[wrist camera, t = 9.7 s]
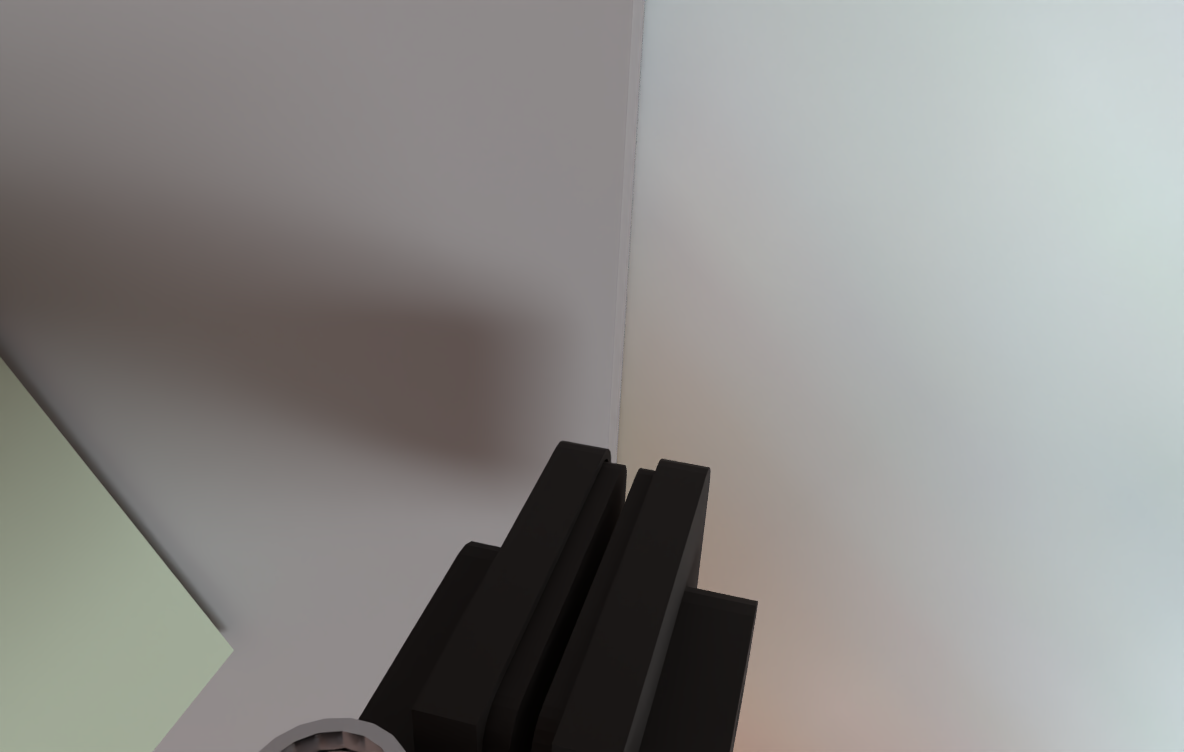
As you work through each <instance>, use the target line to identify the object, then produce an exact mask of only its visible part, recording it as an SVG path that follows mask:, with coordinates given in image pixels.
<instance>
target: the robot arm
mask: <svg viewBox="0 0 1184 752" xmlns="http://www.w3.org/2000/svg"><path fill="white" fill-rule="evenodd" d="M626 477H627V470H626V466H625V465H621V464H616V463H611V451H610V450H609V449H606V448H601V447H595V446H590V445H585V444H579V443H574V442H568V441H560V442H559V443H558V445H557V446H556V448H555V450H554V452H553V453H552V455H551V457H550V459H549V461H548V463H547V464H546V466H545V468H544V470H543V472H542V473H541V475H540V477H539V479H538V481H537V482H536V484H535V486H534V488H533V490H532V492H531V493H530V495H529V497H528V499H527V501H526V502H525V504H524V506H523V508H522V510H521V512H520V513H519V515H518V517H517V519H516V521H515V522H514V524H513V526H512V528H511V530H510V531H509V533H508V535H507V537H506V539H505V541H504V542H503V544H502V546H501V547H497V546H493V545H488V544H483V543H479V542H474V541H471V542H469V543H467V544H465V546H464V547H463V548H462V549H461V551H460V552H459V553H458V555H457V557H456V558H455V560H454V562H453V563H452V565H451V567H450V568H449V570H448V572H447V573H446V575H445V577H444V578H443V580H442V581H441V583H440V585H439V586H438V588H437V590H436V591H435V593H434V595H433V596H432V598H431V600H430V601H429V603H428V605H427V606H426V608H425V610H424V611H423V613H422V615H421V616H420V618H419V620H418V621H417V623H416V624H415V626H414V628H413V629H412V631H411V633H410V634H409V636H408V638H407V639H406V641H405V643H404V644H403V646H402V648H401V649H400V651H399V653H398V654H397V656H396V658H395V659H394V661H393V663H392V664H391V666H390V668H389V669H388V671H387V672H386V674H385V676H384V677H383V679H382V681H381V682H380V684H379V686H378V687H377V689H376V691H375V692H374V694H373V696H372V697H371V699H370V701H369V702H368V704H367V706H366V707H365V709H364V711H363V712H362V714H361V716H360V717H359V719H358V720H357V719H353V718H325V719H321V720H317V721H313V722H309V723H305V724H301V725H298V726H297V727H295V728H293V729H291V730H289V731H287V732H285V733H283V734H281V735H279V736H277V737H275V738H274V739H273V740H272V741H271V742H269V743H268V744H267V745H266V746H265V747H264V748H262V749H261V750H260V751H259V752H733V747H734V742H735V736H736V731H737V725H738V720H739V714H740V708H741V703H742V697H743V691H744V685H745V679H746V673H747V667H748V661H749V655H750V649H751V643H752V637H753V631H754V625H755V618H756V612H757V605H758V601H754V600H749V599H744V598H740V597H735V596H730V595H725V594H721V593H716V592H711V591H706V590H702V589H697V583H698V575H699V567H700V558H701V550H702V542H703V533H704V525H705V517H706V509H707V500H708V492H709V483H710V468H709V467H704V466H698V465H693V464H688V463H682V462H677V461H671V460H666V459H661V460H660V461H659V463H658V466H657V468H656V471H653V470H648V469H643V468H640V469H639V470H638V472H637V474H636V477H635V479H634V482H633V484H632V487H631V489H630V491H629V494H628V496H627V499H626V501H625V492H626Z"/></svg>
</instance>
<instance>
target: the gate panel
mask: <svg viewBox="0 0 1184 752" xmlns="http://www.w3.org/2000/svg"><path fill="white" fill-rule="evenodd" d="M233 651H234V650H233V648H232V647H231V646H230V645H229V643H228V642H227V641H226V640H225V638H224V637H223V636H222V635H221V633H220V632H219V631H218V630H217V628H216V627H215V626H214V625H213V623H212V622H211V621H210V619H209V618H208V617H207V616H206V614H205V613H204V612H203V611H202V609H201V608H200V607H199V606H198V604H197V603H196V602H195V601H194V599H193V598H192V597H191V596H190V594H189V593H188V592H187V591H186V589H185V588H184V587H183V586H182V584H181V583H180V582H179V581H178V579H177V578H176V577H175V576H174V574H173V573H172V572H171V571H170V569H169V568H168V567H167V566H166V564H165V563H164V562H163V560H162V559H161V558H160V557H159V555H158V554H157V553H156V552H155V550H154V549H153V548H152V547H151V545H150V544H149V543H148V542H147V540H146V539H145V538H144V537H143V535H142V534H141V533H140V532H139V530H138V529H137V528H136V527H135V525H134V524H133V523H132V522H131V520H130V519H129V518H128V517H127V515H126V514H125V513H124V512H123V510H122V509H121V508H120V507H119V505H118V504H117V503H116V501H115V500H114V499H113V498H112V496H111V495H110V494H109V493H108V491H107V490H106V489H105V488H104V486H103V485H102V484H101V483H100V481H99V480H98V479H97V478H96V476H95V475H94V474H93V473H92V471H91V470H90V469H89V468H88V466H87V465H86V464H85V463H84V461H83V460H82V459H81V458H80V456H79V455H78V454H77V453H76V451H75V450H74V449H73V448H72V446H71V445H70V444H69V443H68V441H67V440H66V439H65V437H64V436H63V435H62V434H61V432H60V431H59V430H58V429H57V427H56V426H55V425H54V424H53V422H52V421H51V420H50V419H49V417H48V416H47V415H46V414H45V412H44V411H43V410H42V409H41V407H40V406H39V405H38V404H37V402H36V401H35V400H34V399H33V397H32V396H31V395H30V394H29V392H28V391H27V390H26V389H25V387H24V386H23V385H22V384H21V382H20V381H19V380H18V378H17V377H16V376H15V375H14V373H13V372H12V371H11V370H10V368H9V367H8V366H7V365H6V363H5V362H4V361H3V360H2V358H1V357H0V752H153V750H154V749H155V748H156V747H157V745H158V744H159V743H160V742H161V741H162V739H163V738H164V737H165V736H166V734H167V733H168V732H169V731H170V729H171V728H172V727H173V726H174V724H175V723H176V722H177V721H178V719H179V718H180V717H181V716H182V714H183V713H184V712H185V711H186V709H187V708H188V707H189V706H190V704H191V703H192V702H193V701H194V699H195V698H196V697H197V696H198V694H199V693H200V692H201V691H202V689H203V688H204V687H205V686H206V684H207V683H208V682H209V681H210V679H211V678H212V677H213V676H214V674H215V673H216V672H217V671H218V669H219V668H220V667H221V666H222V665H223V663H224V662H225V661H226V660H227V658H228V657H229V656H230V655H231V653H232V652H233Z"/></svg>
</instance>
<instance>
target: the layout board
mask: <svg viewBox="0 0 1184 752" xmlns="http://www.w3.org/2000/svg"><path fill="white" fill-rule="evenodd" d="M644 9H645V0H0V357H1V358H2V360H3V361H4V362H5V363H6V365H7V366H8V367H9V368H10V370H11V371H12V372H13V373H14V375H15V376H16V377H17V378H18V380H19V381H20V382H21V384H22V385H23V386H24V387H25V389H26V390H27V391H28V392H29V394H30V395H31V396H32V397H33V399H34V400H35V401H36V402H37V404H38V405H39V406H40V407H41V409H42V410H43V411H44V412H45V414H46V415H47V416H48V417H49V419H50V420H51V421H52V422H53V424H54V425H55V426H56V427H57V429H58V430H59V431H60V432H61V434H62V435H63V436H64V437H65V439H66V440H67V441H68V443H69V444H70V445H71V446H72V448H73V449H74V450H75V451H76V453H77V454H78V455H79V456H80V458H81V459H82V460H83V461H84V463H85V464H86V465H87V466H88V468H89V469H90V470H91V471H92V473H93V474H94V475H95V476H96V478H97V479H98V480H99V481H100V483H101V484H102V485H103V486H104V488H105V489H106V490H107V491H108V493H109V494H110V495H111V496H112V498H113V499H114V500H115V501H116V503H117V504H118V505H119V507H120V508H121V509H122V510H123V512H124V513H125V514H126V515H127V517H128V518H129V519H130V520H131V522H132V523H133V524H134V525H135V527H136V528H137V529H138V530H139V532H140V533H141V534H142V535H143V537H144V538H145V539H146V540H147V542H148V543H149V544H150V545H151V547H152V548H153V549H154V550H155V552H156V553H157V554H158V555H159V557H160V558H161V559H162V560H163V562H164V563H165V564H166V566H167V567H168V568H169V569H170V571H171V572H172V573H173V574H174V576H175V577H176V578H177V579H178V581H179V582H180V583H181V584H182V586H183V587H184V588H185V589H186V591H187V592H188V593H189V594H190V596H191V597H192V598H193V599H194V601H195V602H196V603H197V604H198V606H199V607H200V608H201V609H202V611H203V612H204V613H205V614H206V616H207V617H208V618H209V619H210V621H211V622H212V623H213V625H214V626H215V627H216V628H217V630H218V631H219V632H220V633H221V635H222V636H223V637H224V638H225V640H226V641H227V642H228V643H229V645H230V646H231V647H232V648H233V650H234V651H233V652H232V653H231V655H230V656H229V657H228V658H227V660H226V661H225V662H224V663H223V665H222V666H221V667H220V668H219V669H218V671H217V672H216V673H215V674H214V676H213V677H212V678H211V679H210V681H209V682H208V683H207V684H206V686H205V687H204V688H203V689H202V691H201V692H200V693H199V694H198V696H197V697H196V698H195V699H194V701H193V702H192V703H191V704H190V706H189V707H188V708H187V709H186V711H185V712H184V713H183V714H182V716H181V717H180V718H179V719H178V721H177V722H176V723H175V724H174V726H173V727H172V728H171V729H170V731H169V732H168V733H167V734H166V736H165V737H164V738H163V739H162V741H161V742H160V743H159V744H158V745H157V747H156V748H155V749H154V750H153V752H259V751H260V750H261V749H262V748H264V747H265V746H266V745H267V744H268V743H269V742H271V741H272V740H273V739H274V738H275V737H277V736H279V735H281V734H283V733H285V732H287V731H289V730H291V729H293V728H295V727H297V726H298V725H301V724H305V723H309V722H313V721H317V720H321V719H325V718H353V719H357V720H358V719H359V717H360V716H361V714H362V712H363V711H364V709H365V707H366V706H367V704H368V702H369V701H370V699H371V697H372V696H373V694H374V692H375V691H376V689H377V687H378V686H379V684H380V682H381V681H382V679H383V677H384V676H385V674H386V672H387V671H388V669H389V668H390V666H391V664H392V663H393V661H394V659H395V658H396V656H397V654H398V653H399V651H400V649H401V648H402V646H403V644H404V643H405V641H406V639H407V638H408V636H409V634H410V633H411V631H412V629H413V628H414V626H415V624H416V623H417V621H418V620H419V618H420V616H421V615H422V613H423V611H424V610H425V608H426V606H427V605H428V603H429V601H430V600H431V598H432V596H433V595H434V593H435V591H436V590H437V588H438V586H439V585H440V583H441V581H442V580H443V578H444V577H445V575H446V573H447V572H448V570H449V568H450V567H451V565H452V563H453V562H454V560H455V558H456V557H457V555H458V553H459V552H460V551H461V549H462V548H463V547H464V546H465V544H467V543H469V542H471V541H474V542H479V543H483V544H488V545H493V546H497V547H501V546H502V544H503V542H504V541H505V539H506V537H507V535H508V533H509V531H510V530H511V528H512V526H513V524H514V522H515V521H516V519H517V517H518V515H519V513H520V512H521V510H522V508H523V506H524V504H525V502H526V501H527V499H528V497H529V495H530V493H531V492H532V490H533V488H534V486H535V484H536V482H537V481H538V479H539V477H540V475H541V473H542V472H543V470H544V468H545V466H546V464H547V463H548V461H549V459H550V457H551V455H552V453H553V452H554V450H555V448H556V446H557V445H558V443H559V442H560V441H568V442H574V443H579V444H585V445H590V446H595V447H601V448H606V449H609V450H610V451H611V463H616V462H617V446H618V430H619V414H620V397H621V381H622V365H623V349H624V333H625V317H626V300H627V284H628V268H629V252H630V236H631V219H632V203H633V187H634V171H635V155H636V139H637V123H638V106H639V90H640V74H641V58H642V42H643V25H644Z"/></svg>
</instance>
